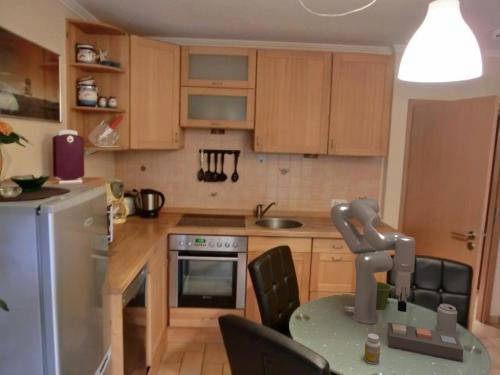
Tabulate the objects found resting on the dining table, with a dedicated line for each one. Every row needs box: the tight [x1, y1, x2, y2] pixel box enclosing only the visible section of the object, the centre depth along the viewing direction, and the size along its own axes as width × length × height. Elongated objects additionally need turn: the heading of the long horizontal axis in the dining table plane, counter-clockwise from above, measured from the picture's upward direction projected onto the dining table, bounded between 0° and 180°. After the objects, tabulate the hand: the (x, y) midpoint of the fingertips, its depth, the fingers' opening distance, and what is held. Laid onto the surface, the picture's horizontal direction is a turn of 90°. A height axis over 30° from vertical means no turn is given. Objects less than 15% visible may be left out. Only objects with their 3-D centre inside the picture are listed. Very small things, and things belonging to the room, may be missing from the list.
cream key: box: [392, 322, 407, 335], centre depth 144 cm, size 5×5×4 cm
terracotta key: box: [416, 327, 431, 340], centre depth 140 cm, size 5×5×4 cm
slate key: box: [440, 335, 457, 345], centre depth 137 cm, size 5×5×4 cm
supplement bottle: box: [364, 333, 381, 365], centre depth 130 cm, size 5×5×10 cm
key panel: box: [387, 322, 464, 363], centre depth 141 cm, size 26×12×5 cm, turn 70°
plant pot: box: [376, 281, 393, 310], centre depth 177 cm, size 12×12×11 cm
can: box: [435, 303, 458, 334], centre depth 152 cm, size 8×8×12 cm
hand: (401, 310), depth 142 cm, fingers closed
